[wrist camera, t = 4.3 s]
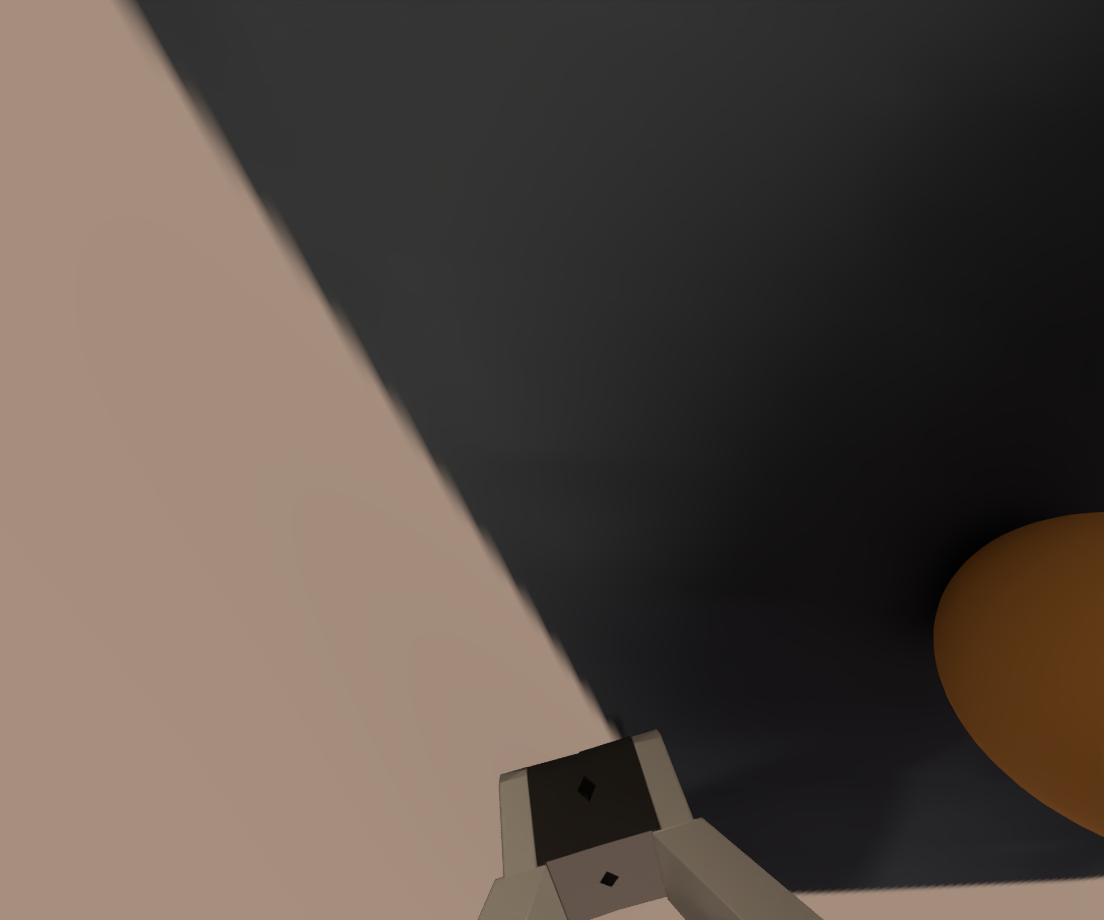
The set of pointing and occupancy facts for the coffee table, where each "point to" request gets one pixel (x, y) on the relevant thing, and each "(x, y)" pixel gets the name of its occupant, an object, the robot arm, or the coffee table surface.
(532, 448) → the coffee table surface
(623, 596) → the coffee table surface
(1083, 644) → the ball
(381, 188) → the coffee table surface
